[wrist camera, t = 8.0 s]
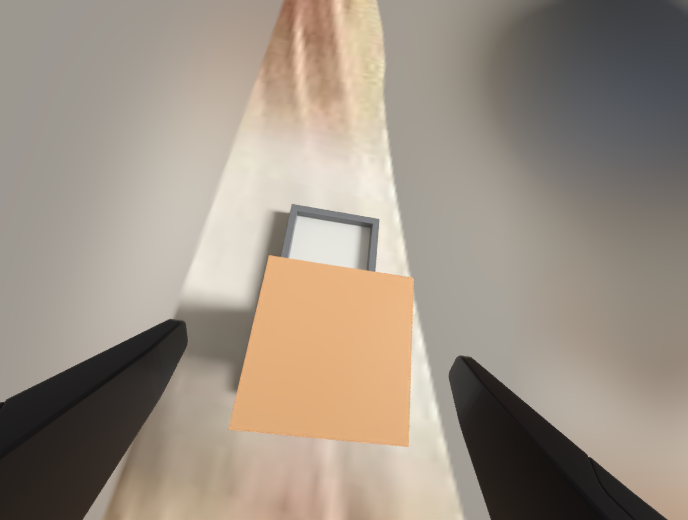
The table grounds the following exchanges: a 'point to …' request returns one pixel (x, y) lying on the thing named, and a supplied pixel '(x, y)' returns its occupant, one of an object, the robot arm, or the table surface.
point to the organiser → (331, 238)
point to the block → (328, 355)
